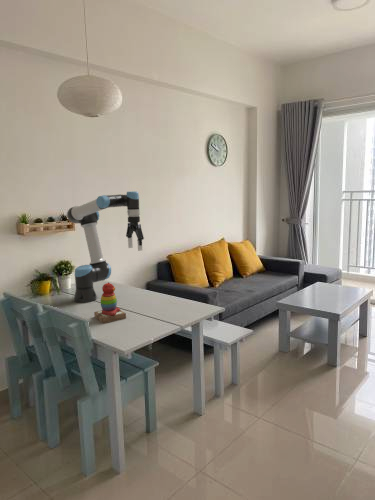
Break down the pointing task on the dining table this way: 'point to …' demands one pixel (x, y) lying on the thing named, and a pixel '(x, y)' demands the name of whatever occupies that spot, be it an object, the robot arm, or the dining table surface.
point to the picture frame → (108, 318)
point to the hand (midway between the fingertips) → (135, 249)
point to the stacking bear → (109, 300)
